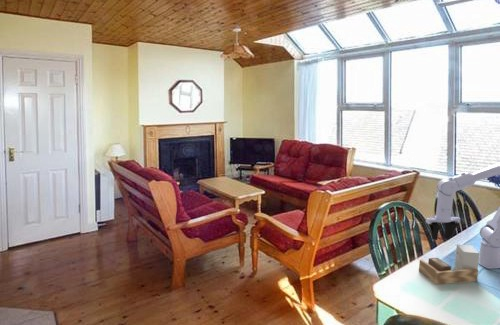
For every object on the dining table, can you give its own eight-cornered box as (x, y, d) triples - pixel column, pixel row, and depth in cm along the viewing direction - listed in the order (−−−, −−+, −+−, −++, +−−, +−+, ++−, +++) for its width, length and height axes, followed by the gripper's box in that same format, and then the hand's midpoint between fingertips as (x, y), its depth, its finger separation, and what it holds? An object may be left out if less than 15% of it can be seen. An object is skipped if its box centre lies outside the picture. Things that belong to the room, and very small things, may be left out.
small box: (476, 279, 142) (480, 253, 140) (460, 277, 143) (463, 251, 141) (468, 269, 150) (472, 245, 148) (453, 268, 151) (456, 243, 149)
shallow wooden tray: (456, 267, 151) (457, 257, 151) (476, 281, 140) (478, 270, 140) (418, 270, 148) (419, 259, 148) (436, 284, 138) (437, 272, 137)
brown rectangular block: (436, 269, 150) (437, 257, 149) (449, 279, 142) (451, 266, 141) (427, 270, 149) (428, 258, 148) (440, 279, 141) (442, 267, 140)
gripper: (453, 204, 160) (449, 234, 162) (422, 205, 157) (419, 236, 160) (465, 209, 153) (461, 240, 155) (433, 210, 151) (430, 242, 153)
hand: (440, 238), depth 157 cm, fingers open, 5 cm apart
